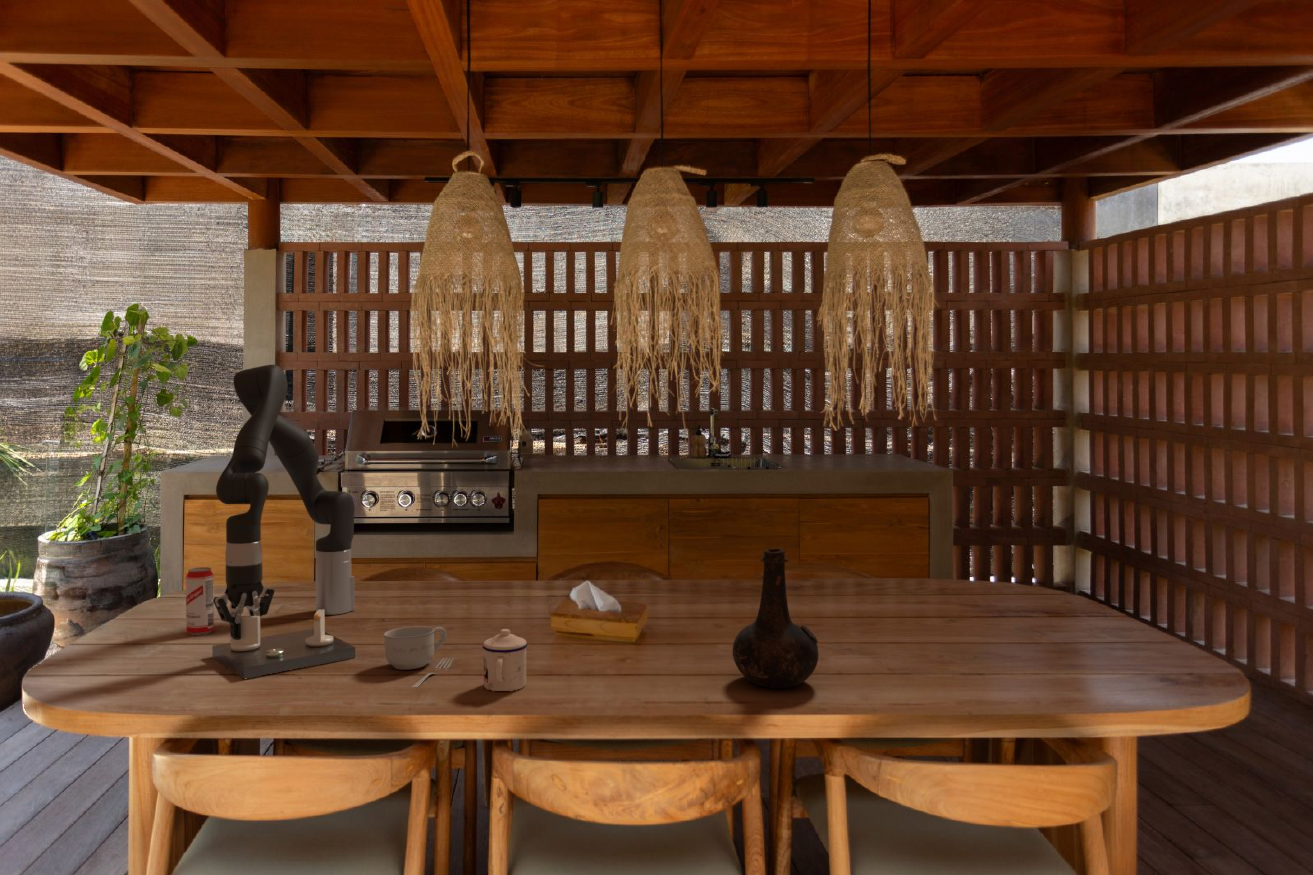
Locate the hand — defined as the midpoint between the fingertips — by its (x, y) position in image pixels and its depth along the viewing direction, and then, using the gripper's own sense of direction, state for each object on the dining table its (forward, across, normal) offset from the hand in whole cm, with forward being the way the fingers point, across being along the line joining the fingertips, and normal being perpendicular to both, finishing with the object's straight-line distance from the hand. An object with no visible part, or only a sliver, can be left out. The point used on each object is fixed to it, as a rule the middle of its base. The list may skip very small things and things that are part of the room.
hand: (245, 636), depth 201 cm
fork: (+6, +13, -44) cm, 47 cm away
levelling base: (+5, +6, -6) cm, 10 cm away
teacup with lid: (+5, +19, -61) cm, 64 cm away
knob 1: (+2, 0, 0) cm, 2 cm away
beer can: (+5, +6, +30) cm, 31 cm away
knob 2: (+2, +12, -10) cm, 16 cm away
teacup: (+5, +19, -35) cm, 40 cm away
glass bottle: (+5, +54, -105) cm, 119 cm away
